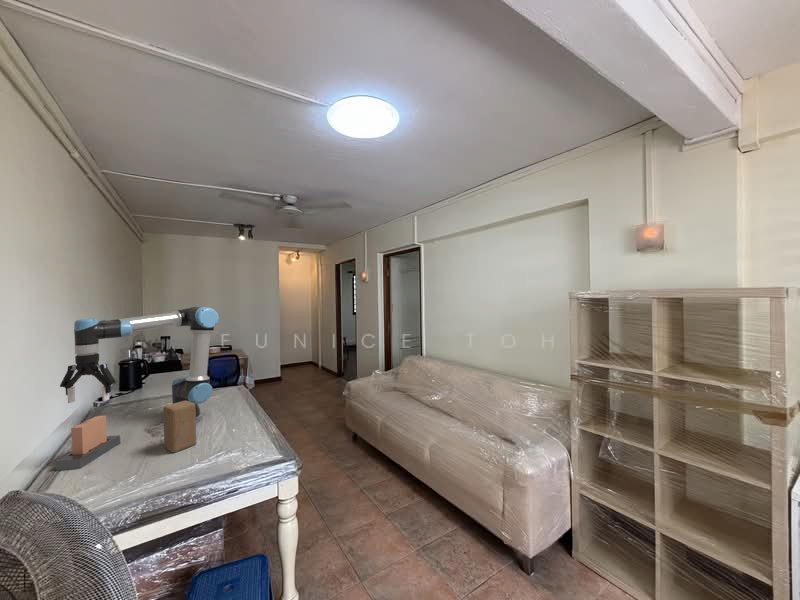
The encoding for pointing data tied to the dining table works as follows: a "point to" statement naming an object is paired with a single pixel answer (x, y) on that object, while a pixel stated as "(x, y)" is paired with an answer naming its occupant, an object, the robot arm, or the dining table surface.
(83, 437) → the orange upright block
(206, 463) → the dining table surface
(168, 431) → the wooden block
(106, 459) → the dining table surface
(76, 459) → the gray slotted base
